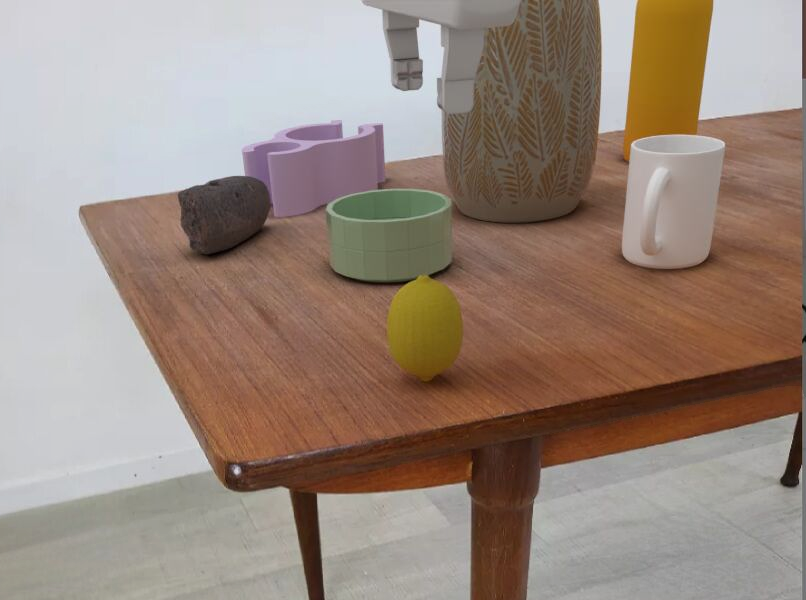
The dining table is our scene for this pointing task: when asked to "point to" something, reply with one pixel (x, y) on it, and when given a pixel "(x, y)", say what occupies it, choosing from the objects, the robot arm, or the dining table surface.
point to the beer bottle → (667, 68)
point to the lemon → (424, 328)
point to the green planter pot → (390, 234)
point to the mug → (671, 200)
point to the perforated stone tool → (223, 212)
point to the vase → (529, 116)
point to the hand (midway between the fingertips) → (429, 99)
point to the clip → (316, 165)
